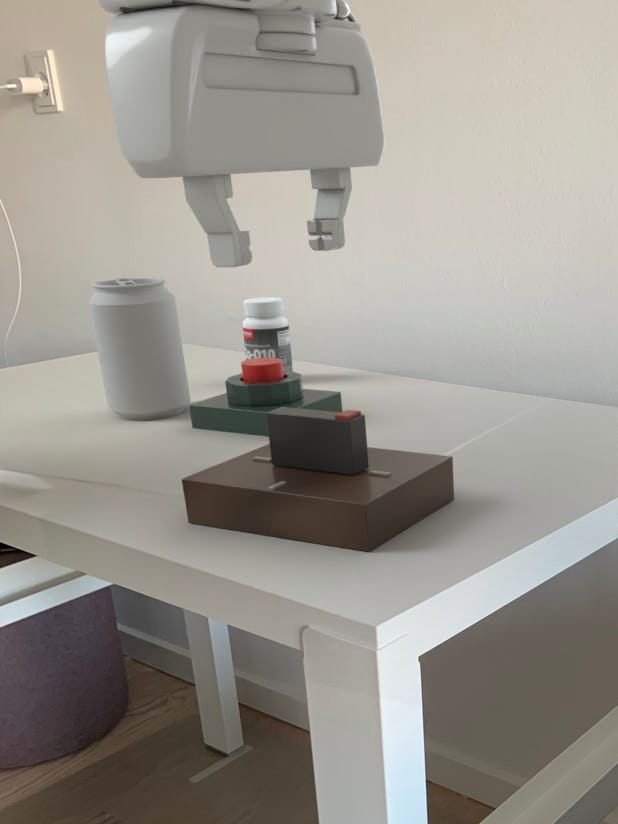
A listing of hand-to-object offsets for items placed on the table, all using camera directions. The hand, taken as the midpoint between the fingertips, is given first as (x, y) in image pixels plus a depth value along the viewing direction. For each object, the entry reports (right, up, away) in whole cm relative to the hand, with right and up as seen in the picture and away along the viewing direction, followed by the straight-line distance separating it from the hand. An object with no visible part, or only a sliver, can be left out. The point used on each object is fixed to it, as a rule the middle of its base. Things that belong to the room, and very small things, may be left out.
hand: (283, 257), depth 60 cm
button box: (-7, -3, +31) cm, 32 cm away
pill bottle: (-10, +5, +47) cm, 49 cm away
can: (-19, -1, +35) cm, 40 cm away
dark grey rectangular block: (+1, -11, +6) cm, 13 cm away
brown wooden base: (+1, -14, +8) cm, 16 cm away
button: (-7, 0, +29) cm, 30 cm away
